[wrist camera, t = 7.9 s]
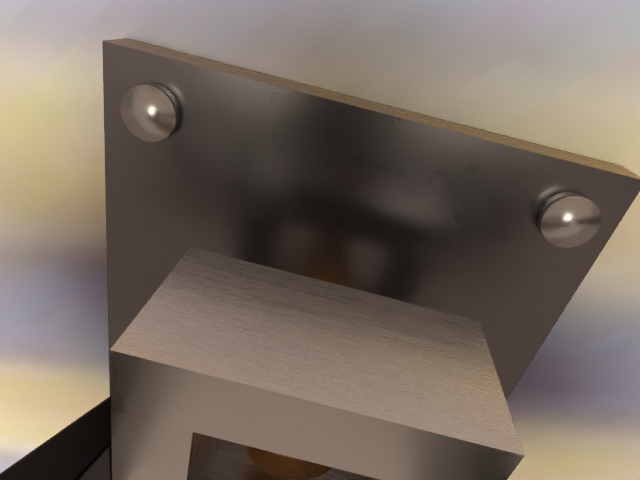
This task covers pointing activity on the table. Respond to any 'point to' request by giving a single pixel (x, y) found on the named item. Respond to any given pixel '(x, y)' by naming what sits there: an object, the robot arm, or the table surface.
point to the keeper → (343, 201)
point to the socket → (301, 382)
